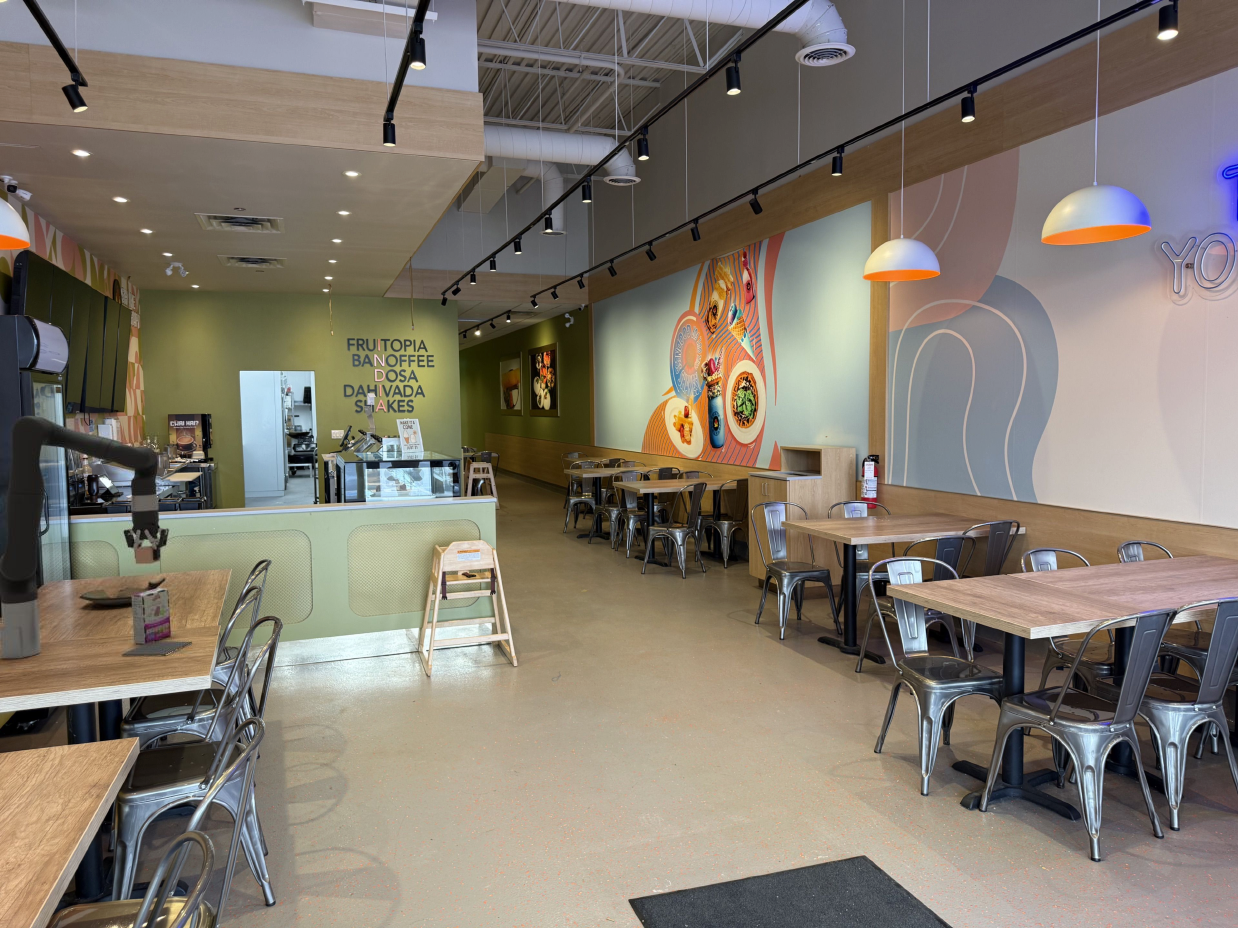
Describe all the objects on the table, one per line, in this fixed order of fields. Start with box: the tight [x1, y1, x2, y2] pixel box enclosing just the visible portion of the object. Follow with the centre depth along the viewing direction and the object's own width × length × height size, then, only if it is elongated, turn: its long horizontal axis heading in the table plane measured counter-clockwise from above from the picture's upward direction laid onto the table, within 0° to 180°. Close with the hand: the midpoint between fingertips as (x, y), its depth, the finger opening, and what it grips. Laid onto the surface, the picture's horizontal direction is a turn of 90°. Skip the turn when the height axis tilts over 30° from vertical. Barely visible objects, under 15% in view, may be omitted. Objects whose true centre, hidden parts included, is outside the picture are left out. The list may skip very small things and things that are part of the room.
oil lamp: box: [78, 577, 167, 606], centre depth 319 cm, size 22×30×8 cm
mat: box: [121, 641, 193, 656], centre depth 253 cm, size 14×14×1 cm
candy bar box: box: [131, 587, 172, 645], centre depth 264 cm, size 11×5×16 cm, turn 168°
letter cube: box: [134, 545, 161, 565], centre depth 258 cm, size 5×5×5 cm
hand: (147, 560), depth 258 cm, fingers closed on letter cube, 5 cm apart
